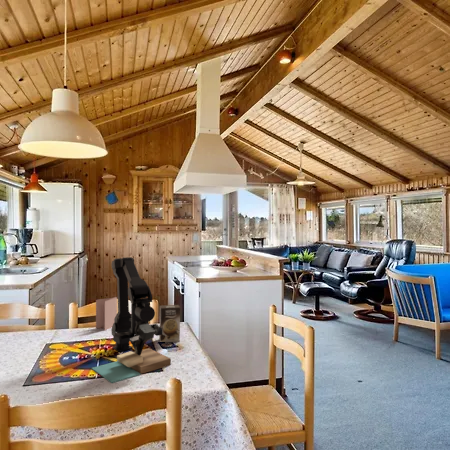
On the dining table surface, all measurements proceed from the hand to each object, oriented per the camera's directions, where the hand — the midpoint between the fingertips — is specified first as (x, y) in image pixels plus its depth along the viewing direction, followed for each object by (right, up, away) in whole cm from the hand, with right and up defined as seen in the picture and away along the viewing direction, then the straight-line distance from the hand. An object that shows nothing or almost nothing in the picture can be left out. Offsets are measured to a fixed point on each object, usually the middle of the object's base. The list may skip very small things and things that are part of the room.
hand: (138, 356), depth 145 cm
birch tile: (-3, -1, -3) cm, 4 cm away
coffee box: (+7, -4, +31) cm, 32 cm away
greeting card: (-28, -3, +52) cm, 59 cm away
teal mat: (-7, -4, -6) cm, 10 cm away
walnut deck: (+2, -4, +2) cm, 5 cm away
